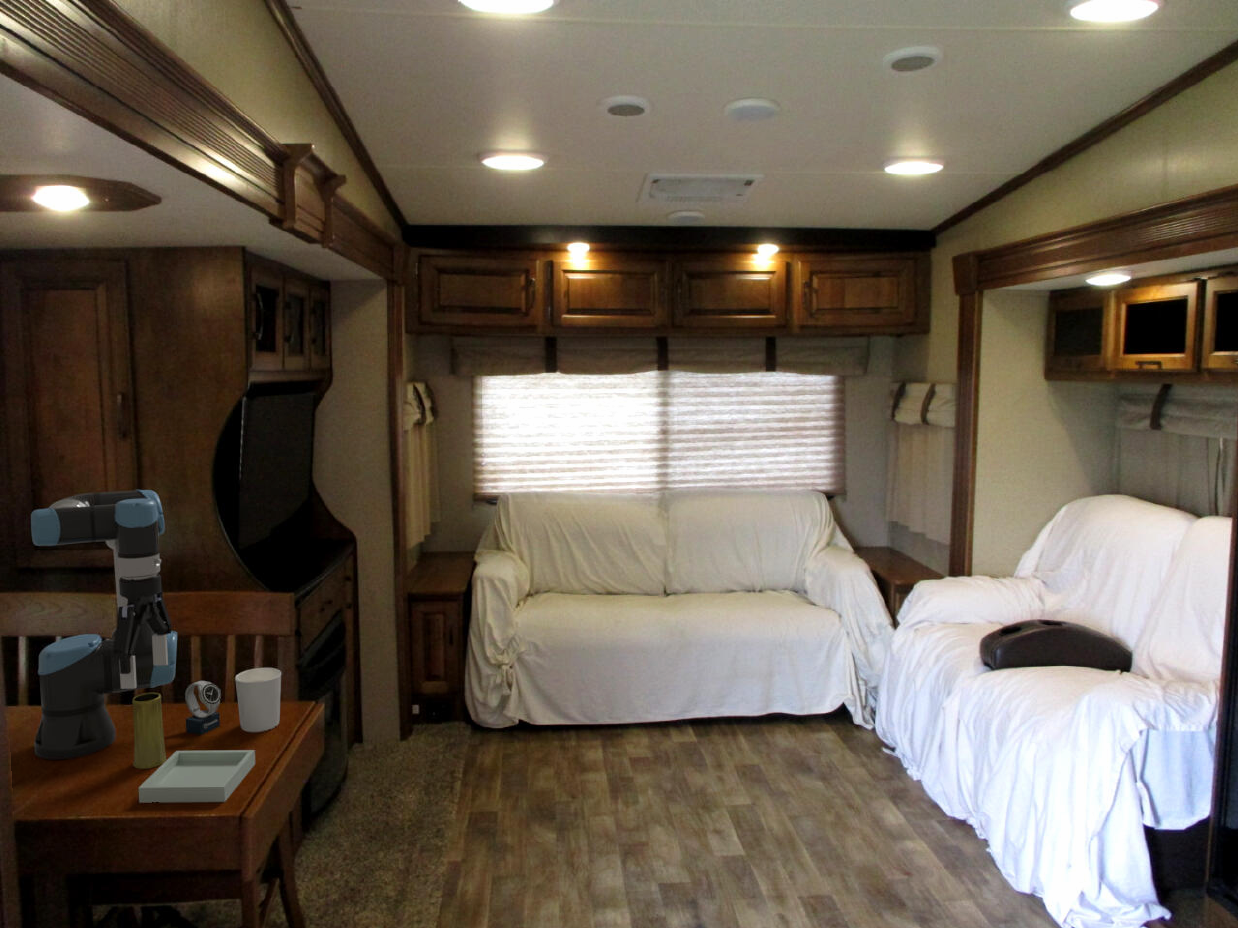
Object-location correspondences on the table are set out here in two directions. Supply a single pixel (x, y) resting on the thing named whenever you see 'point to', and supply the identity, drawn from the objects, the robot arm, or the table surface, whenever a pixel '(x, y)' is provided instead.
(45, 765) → the table surface
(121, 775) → the table surface
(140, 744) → the vase
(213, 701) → the watch
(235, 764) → the tray
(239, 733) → the table surface
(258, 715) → the candle holder
